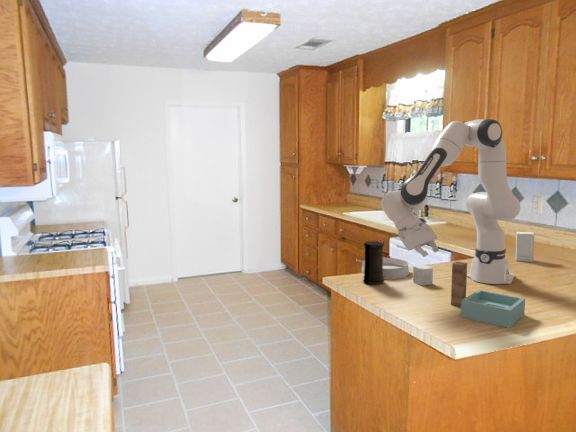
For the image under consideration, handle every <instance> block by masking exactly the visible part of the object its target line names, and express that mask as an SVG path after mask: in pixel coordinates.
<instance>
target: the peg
mask: <svg viewBox="0 0 576 432" xmlns="http://www.w3.org/2000/svg"><path fill="white" fill-rule="evenodd" d="M451 265H452V266H451V288H450V289H451V291H450V292H451V293H450V305H452V306H456V307H461V304H462V300H463V299H465V298H466V297H467V280H468V276H467V274H468V262H463V261H454V262H453V263H452V264H451Z"/></svg>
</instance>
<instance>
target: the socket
mask: <svg viewBox="0 0 576 432" xmlns="http://www.w3.org/2000/svg"><path fill="white" fill-rule="evenodd" d="M460 311H461V312H460V317H461V318H465V319H469V320H473V321H477V322H481V323H485V324H486V323H487V324H490V325H493V326H494V325H495V326H498V327H502V328H507V329H510V328H512V327H513V325H515V324H516V323H517V322H518V321H519V320H521V319H522V318H523V317H524V316H525V311H526V298H524V297H519V296H513V295H509V294H508V295H507V294H505V293H498V292H493V291H487V290H483V289H478V290H476V291H474V292H473V293H471V294H470V295H468V296H466V298H465V299H463V300H462V304H461V310H460Z"/></svg>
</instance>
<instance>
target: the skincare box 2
mask: <svg viewBox="0 0 576 432" xmlns="http://www.w3.org/2000/svg"><path fill="white" fill-rule="evenodd" d="M534 253H535V233H534V232H532V231H516V234H515V261H516V262H531V263H533V262H534V257H535V256H534V255H535V254H534Z"/></svg>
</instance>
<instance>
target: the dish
mask: <svg viewBox="0 0 576 432" xmlns="http://www.w3.org/2000/svg"><path fill="white" fill-rule="evenodd" d="M364 270H365V259H364V260H362V262H361V274H363V275H364V274H365V272H364ZM409 271H410V270H409V262H408V261H406V260H403V259H399V258H395V257H383V277H384V278H383V280H384V279H385V280H388V279H389V280H391V279H393V280H394V279H402V278H405V277H408V275H409Z"/></svg>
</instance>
